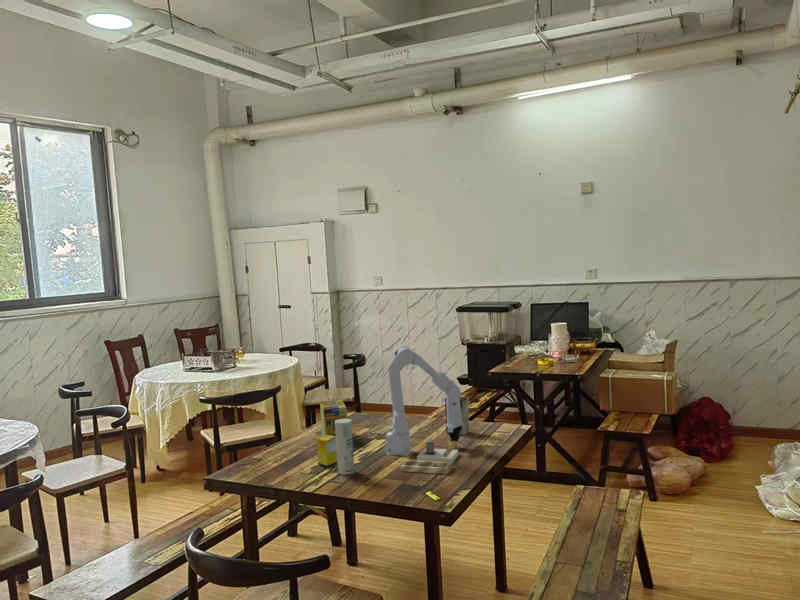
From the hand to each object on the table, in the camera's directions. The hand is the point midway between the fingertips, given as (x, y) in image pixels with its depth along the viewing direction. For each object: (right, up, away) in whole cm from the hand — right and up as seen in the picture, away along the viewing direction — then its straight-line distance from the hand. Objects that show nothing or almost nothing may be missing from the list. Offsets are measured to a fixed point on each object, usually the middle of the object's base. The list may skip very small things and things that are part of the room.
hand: (455, 444), depth 258 cm
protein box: (-53, -3, +25) cm, 59 cm away
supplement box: (-52, -6, -11) cm, 53 cm away
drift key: (-2, -2, -7) cm, 8 cm away
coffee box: (+3, 0, +23) cm, 23 cm away
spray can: (-44, -6, -21) cm, 49 cm away
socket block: (-8, -3, -12) cm, 15 cm away
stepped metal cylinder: (-11, -3, -12) cm, 16 cm away
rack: (-13, -4, -24) cm, 28 cm away
